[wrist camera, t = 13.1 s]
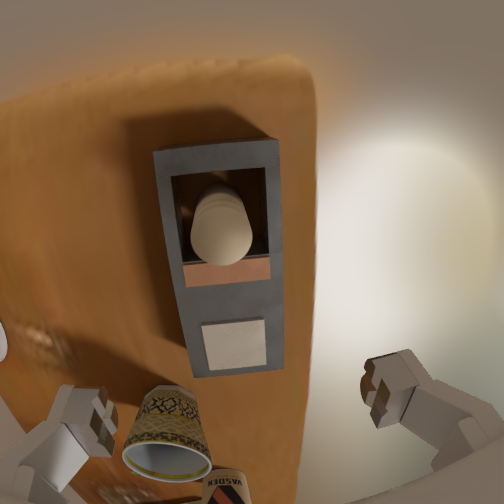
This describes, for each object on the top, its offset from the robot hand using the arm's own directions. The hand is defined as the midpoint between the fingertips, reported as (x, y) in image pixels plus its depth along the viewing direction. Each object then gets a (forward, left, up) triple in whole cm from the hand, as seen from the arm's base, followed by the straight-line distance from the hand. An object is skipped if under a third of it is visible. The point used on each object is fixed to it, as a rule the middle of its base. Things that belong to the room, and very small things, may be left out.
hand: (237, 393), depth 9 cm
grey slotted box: (+4, -3, -21) cm, 22 cm away
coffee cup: (+34, -35, -21) cm, 53 cm away
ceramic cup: (+13, -24, -21) cm, 35 cm away
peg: (0, 0, -21) cm, 21 cm away
